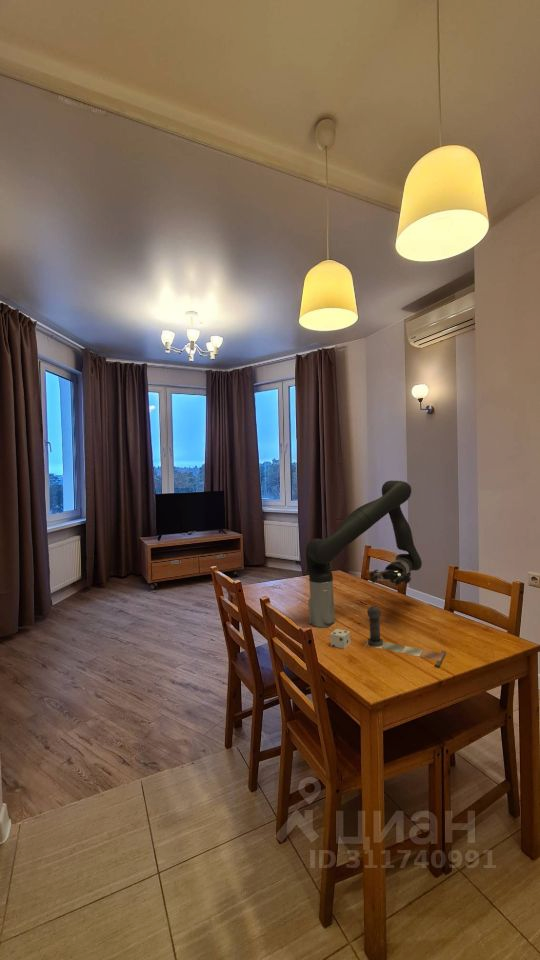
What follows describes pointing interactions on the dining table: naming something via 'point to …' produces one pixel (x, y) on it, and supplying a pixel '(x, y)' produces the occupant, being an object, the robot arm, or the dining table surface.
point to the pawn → (374, 626)
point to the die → (340, 638)
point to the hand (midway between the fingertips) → (384, 581)
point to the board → (414, 652)
